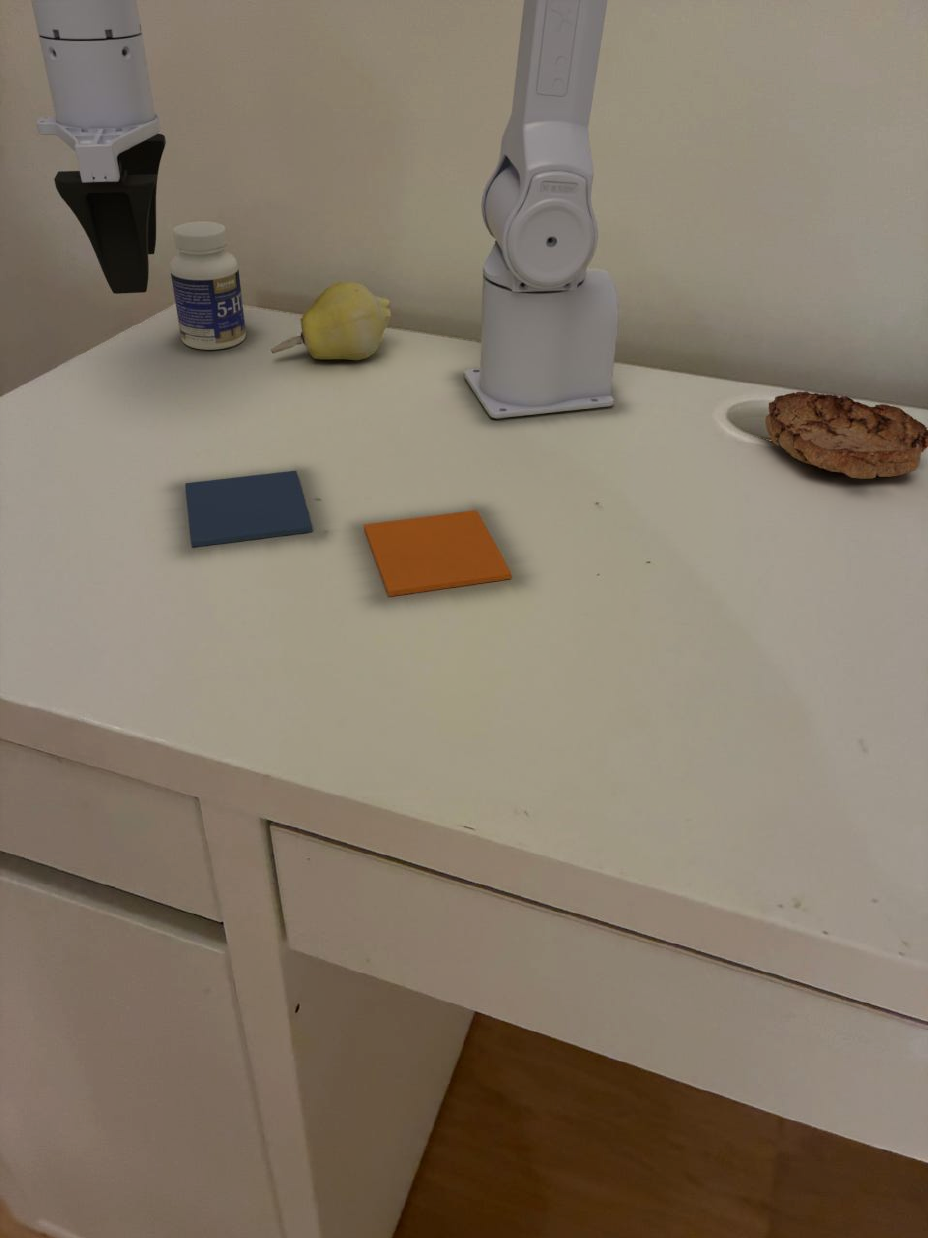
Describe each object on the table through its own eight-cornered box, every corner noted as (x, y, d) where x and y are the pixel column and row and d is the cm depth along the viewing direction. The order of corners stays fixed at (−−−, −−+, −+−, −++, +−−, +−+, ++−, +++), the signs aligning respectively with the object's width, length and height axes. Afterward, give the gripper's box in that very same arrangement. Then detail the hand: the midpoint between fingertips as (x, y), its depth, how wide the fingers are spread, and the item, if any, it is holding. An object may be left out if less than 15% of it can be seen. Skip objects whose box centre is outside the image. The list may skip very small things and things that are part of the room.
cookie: (736, 402, 67) (730, 442, 69) (857, 466, 60) (846, 509, 62) (841, 372, 71) (832, 410, 73) (966, 428, 64) (953, 469, 66)
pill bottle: (232, 354, 80) (217, 240, 74) (171, 348, 80) (151, 235, 75) (256, 330, 84) (243, 221, 78) (197, 324, 84) (181, 216, 79)
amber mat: (476, 515, 61) (477, 509, 60) (511, 579, 55) (511, 573, 55) (364, 529, 59) (363, 524, 59) (388, 597, 54) (388, 591, 53)
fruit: (263, 350, 80) (376, 315, 83) (291, 397, 77) (406, 359, 80) (252, 291, 76) (372, 256, 78) (281, 339, 73) (404, 300, 75)
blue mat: (296, 475, 64) (296, 470, 64) (312, 532, 59) (312, 526, 58) (185, 488, 63) (184, 482, 62) (191, 547, 57) (190, 541, 57)
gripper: (37, 18, 62) (84, 240, 70) (-7, 53, 51) (56, 313, 59) (153, 17, 63) (186, 236, 71) (135, 52, 52) (177, 307, 60)
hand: (135, 271), depth 65 cm, fingers open, 7 cm apart
